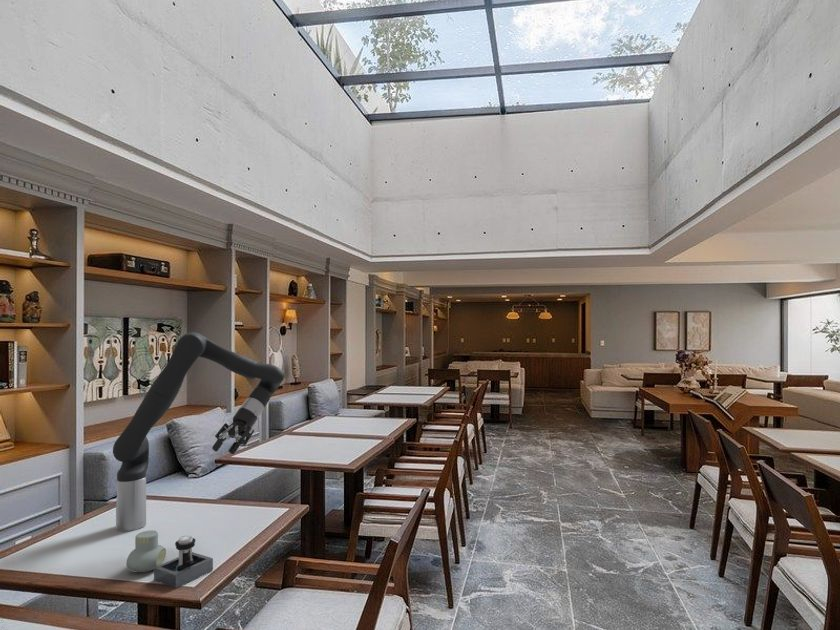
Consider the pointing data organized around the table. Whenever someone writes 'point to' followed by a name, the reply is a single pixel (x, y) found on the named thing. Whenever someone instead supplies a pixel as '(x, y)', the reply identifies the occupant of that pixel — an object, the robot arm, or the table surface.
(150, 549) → the air freshener
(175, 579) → the square socket
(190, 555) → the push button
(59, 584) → the table surface
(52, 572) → the table surface
